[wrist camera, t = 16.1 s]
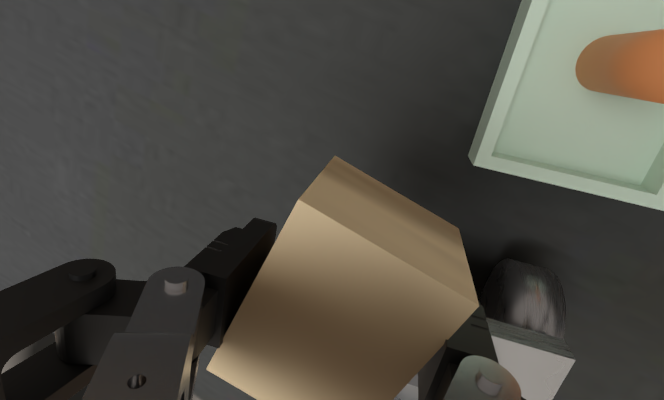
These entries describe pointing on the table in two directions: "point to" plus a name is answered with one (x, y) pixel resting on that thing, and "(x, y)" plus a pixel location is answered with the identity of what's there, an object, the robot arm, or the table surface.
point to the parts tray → (572, 106)
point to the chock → (348, 296)
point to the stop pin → (625, 65)
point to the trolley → (524, 328)
